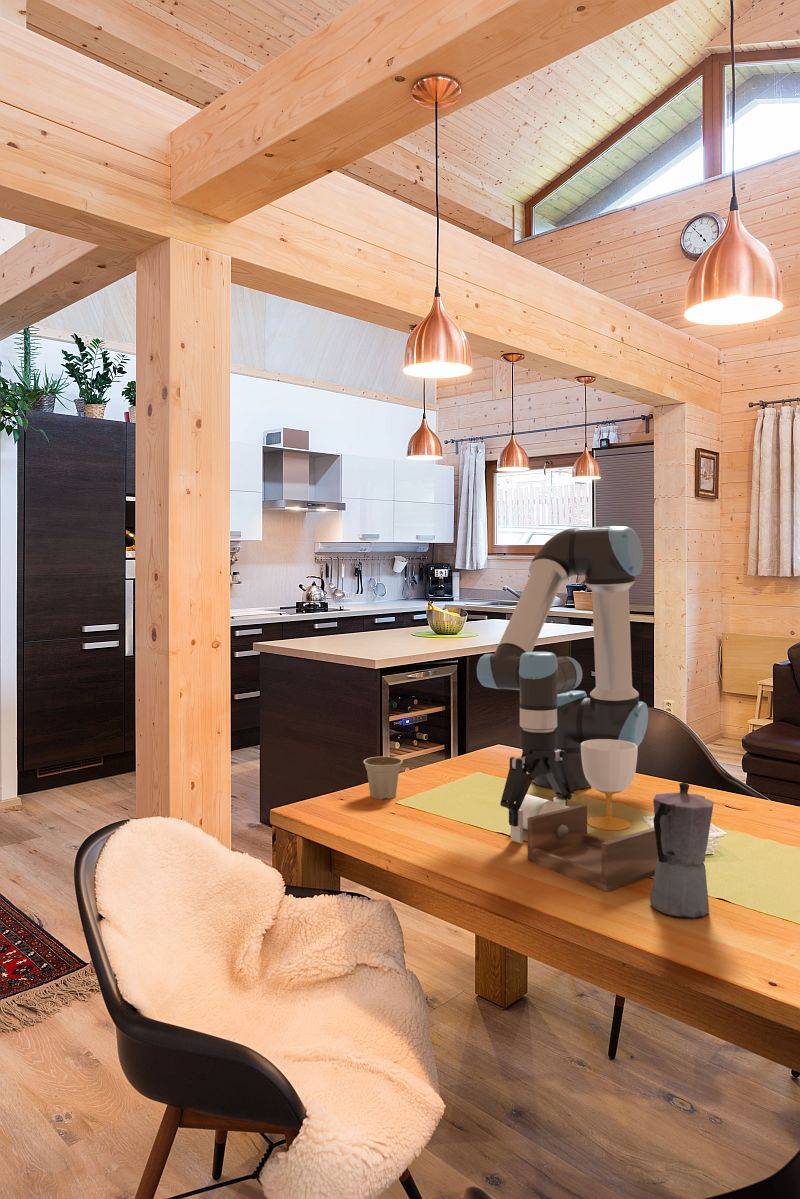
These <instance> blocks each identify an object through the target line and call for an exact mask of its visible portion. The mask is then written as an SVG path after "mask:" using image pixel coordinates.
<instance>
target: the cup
mask: <svg viewBox="0 0 800 1199" xmlns="http://www.w3.org/2000/svg"><path fill="white" fill-rule="evenodd" d="M638 748H639V746H637V745H636V744H634V743H631V742H628V741H622V740H613V739H594V740H587V741H583V742H582V743H581V758H582V767H583V771H584V775H585V778H586V779H587V781H588V783H589V784H590V787H591V788H592V789H595V790H596V791H597V792H600V793H602V794H604V796H605V800H606V801H605V802H606V807H605V808H606V809H605V810H606V813H605V816H596V817H591V818H589V819H587V826H590V827H592V828H594V829H597V830H603V831H618V832H619V831H624V830H628V829H630V827H631V826H632V824H631V823H630V821H628V820H626V819H623V818H619V817H616V816H615V817H614V816H612V815H613V814H612V797H613V795H615V794H618V793H619V794H620V793H621V792H624V791H625V790H627V789H628V787H629V786H630V785H631V783H632V782H633V781H634V778H635V774H636V770H637V764H638V750H639V749H638Z"/></svg>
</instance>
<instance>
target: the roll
mask: <svg viewBox="0 0 800 1199" xmlns="http://www.w3.org/2000/svg"><path fill="white" fill-rule="evenodd" d="M515 803H516V802H515ZM515 803H514V804H515ZM569 807H570V806H568V805H567V806H565V805H562V804H559V803H556V802H553V801H552V800H550V799H546V798H541V797H539V796H535V795H531V794H528V793H526V796H525V798H524V800H523V802H522V805H521V807H520V809H521V810H523V830H527V831H528V818H529V817H533V816H537V815H541V814H545V813H549V812H553V811H557V810H561V809H565V808H569Z"/></svg>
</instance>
